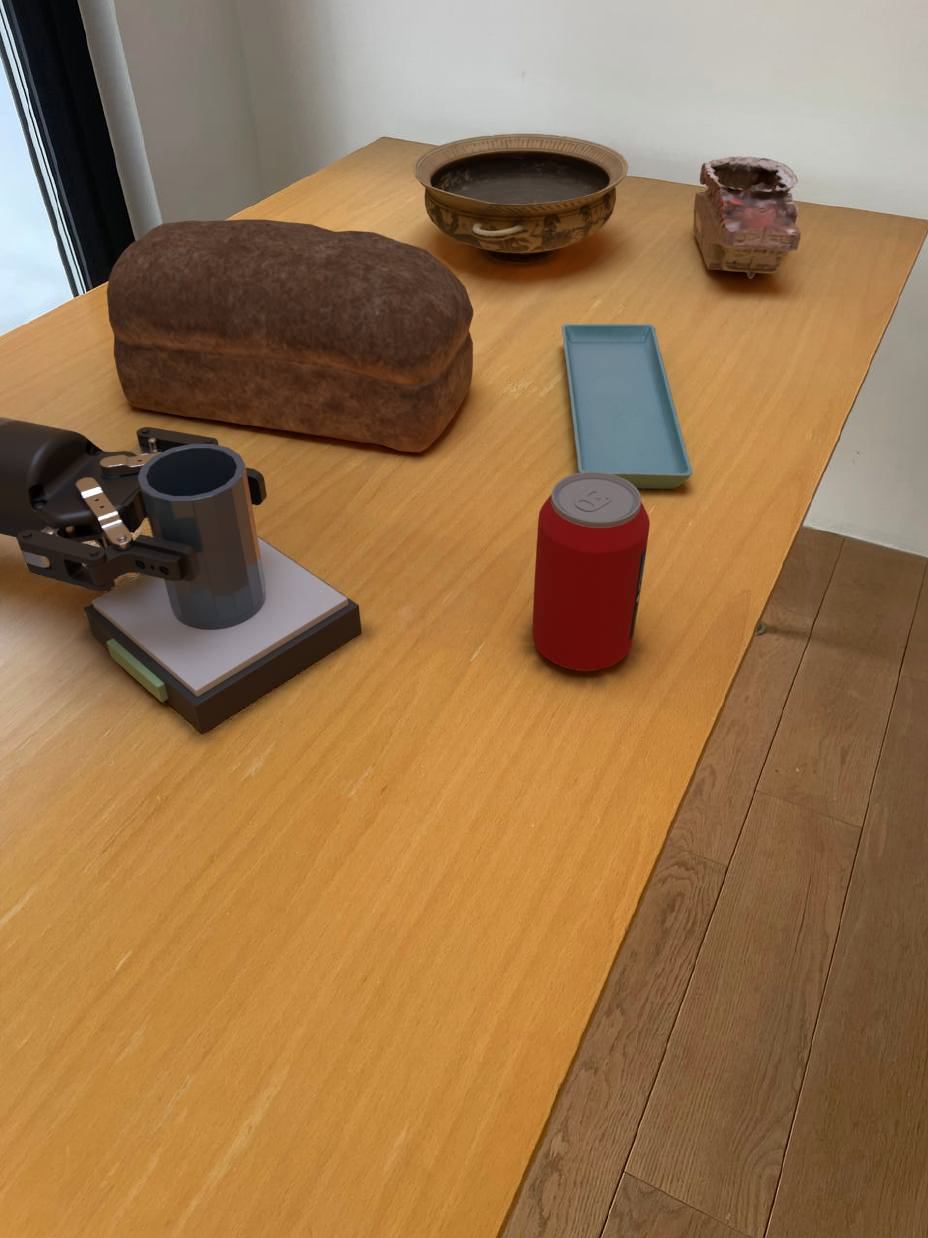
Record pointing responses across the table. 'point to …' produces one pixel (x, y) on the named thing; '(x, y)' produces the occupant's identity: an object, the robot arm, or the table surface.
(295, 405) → the bread
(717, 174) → the decorative box
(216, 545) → the cup
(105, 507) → the robot arm
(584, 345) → the teal serving tray
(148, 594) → the scale
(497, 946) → the table surface
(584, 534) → the beverage can
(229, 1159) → the table surface
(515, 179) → the ceramic bowl
